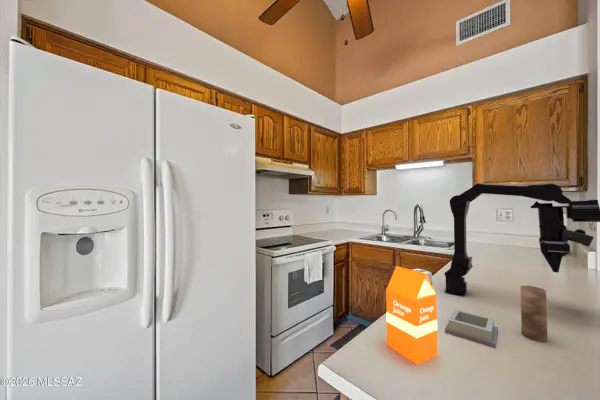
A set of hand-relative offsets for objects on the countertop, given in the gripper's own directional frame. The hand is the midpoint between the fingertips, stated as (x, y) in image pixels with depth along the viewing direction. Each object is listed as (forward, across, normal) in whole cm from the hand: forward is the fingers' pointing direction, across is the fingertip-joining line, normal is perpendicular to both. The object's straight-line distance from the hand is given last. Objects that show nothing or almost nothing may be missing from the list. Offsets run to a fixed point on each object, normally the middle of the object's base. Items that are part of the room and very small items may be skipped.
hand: (554, 269), depth 77 cm
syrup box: (+14, -31, +32) cm, 47 cm away
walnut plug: (+14, -23, +6) cm, 28 cm away
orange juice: (+14, -52, +28) cm, 60 cm away
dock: (+14, -32, +18) cm, 39 cm away
